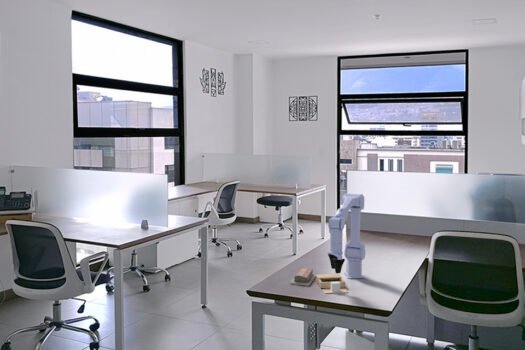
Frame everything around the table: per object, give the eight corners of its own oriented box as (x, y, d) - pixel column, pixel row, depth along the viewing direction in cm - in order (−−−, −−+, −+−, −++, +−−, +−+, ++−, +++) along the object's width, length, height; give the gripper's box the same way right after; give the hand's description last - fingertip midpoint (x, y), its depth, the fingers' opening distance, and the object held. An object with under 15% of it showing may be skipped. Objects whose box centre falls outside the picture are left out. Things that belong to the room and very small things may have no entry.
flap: (322, 290, 242) (322, 281, 241) (345, 289, 243) (345, 280, 242) (324, 294, 236) (324, 284, 236) (348, 293, 237) (349, 283, 237)
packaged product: (297, 266, 267) (316, 267, 264) (297, 275, 268) (316, 276, 265) (289, 275, 250) (309, 277, 247) (289, 285, 251) (309, 286, 248)
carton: (315, 281, 255) (315, 274, 255) (338, 280, 256) (338, 273, 256) (320, 288, 243) (320, 281, 243) (345, 287, 245) (345, 280, 244)
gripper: (324, 239, 244) (324, 266, 245) (331, 246, 230) (331, 275, 231) (338, 239, 245) (338, 266, 246) (346, 246, 231) (346, 275, 232)
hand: (335, 270), depth 239 cm, fingers open, 7 cm apart
